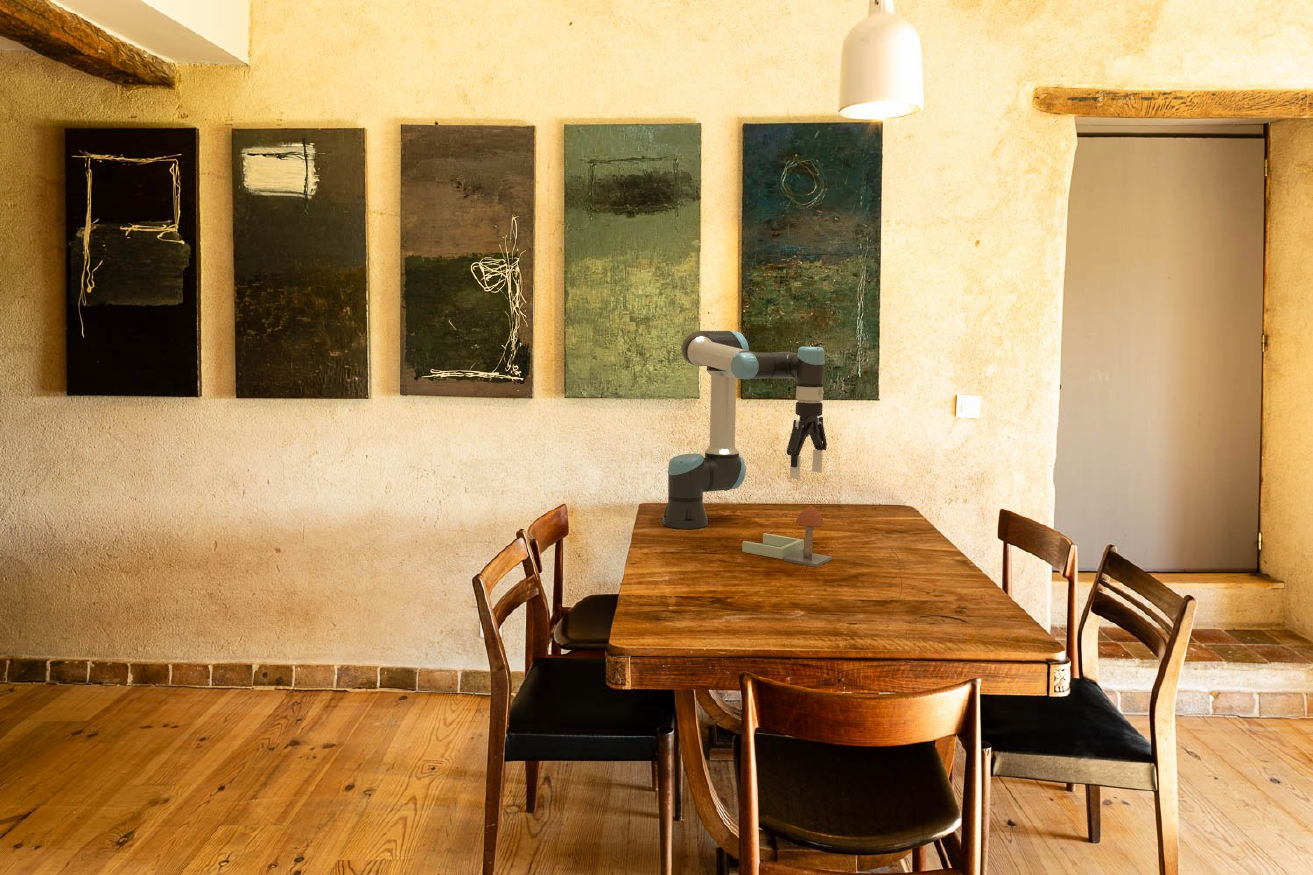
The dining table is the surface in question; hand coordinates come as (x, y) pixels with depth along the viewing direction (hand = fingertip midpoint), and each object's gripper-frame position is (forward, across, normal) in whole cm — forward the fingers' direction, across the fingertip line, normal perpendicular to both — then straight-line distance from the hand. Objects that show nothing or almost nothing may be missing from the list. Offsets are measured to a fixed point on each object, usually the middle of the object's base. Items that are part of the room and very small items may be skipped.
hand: (806, 475), depth 236 cm
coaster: (+23, -4, -4) cm, 24 cm away
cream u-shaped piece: (+24, -2, +9) cm, 25 cm away
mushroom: (+23, -4, -4) cm, 23 cm away
